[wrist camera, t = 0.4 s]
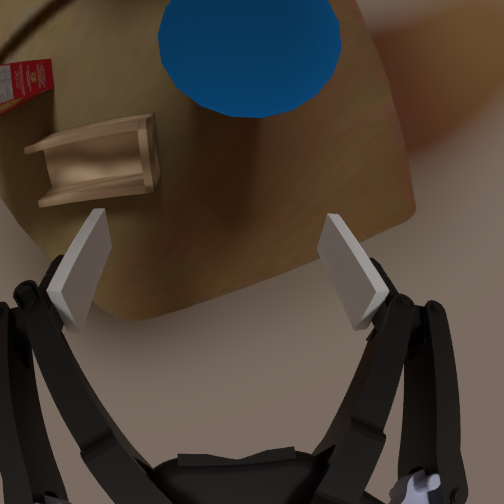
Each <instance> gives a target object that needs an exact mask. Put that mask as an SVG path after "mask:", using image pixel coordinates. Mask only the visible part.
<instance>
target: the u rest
mask: <svg viewBox="0 0 504 504" xmlns="http://www.w3.org/2000/svg"><path fill="white" fill-rule="evenodd" d="M40 150H43V151H44V156H45V160H46V165H47V169H48V173H49V177H50V181H51V185H52V187H51V188H50V189H49V190H48V191H47V192H46V193H45V194H44V195H43V196H42V197H41V198H40V199H39V200H38V204H39V207H40V208H42V207H48V206H53V205H60V204H66V203H72V202H79V201H86V200H94V199H101V198H109V197H118V196H127V195H136V194H146V193H154V192H155V189H156V187H157V184H158V182H159V180H160V177H161V174H160V166H159V156H158V147H157V136H156V123H155V113H150V114H143V115H136V116H129V117H123V118H118V119H112V120H107V121H102V122H97V123H92V124H88V125H84V126H79V127H75V128H71V129H67V130H64V131H60V132H56V133H53V134H49V135H46V136H43V137H41V138H39V139H37V140H36V141H34V142H32V143H31V144H29V145H27V146H26V147H24V152H25V155H27V154H30V153H34V152H37V151H40Z"/></svg>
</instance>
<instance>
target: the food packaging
mask: <svg viewBox="0 0 504 504" xmlns="http://www.w3.org/2000/svg"><path fill="white" fill-rule="evenodd" d="M53 88H54V81H53V73H52V63H51V59H42V60H32V61H23V62H16V63H9V64H3V65H0V115H2V114H3V113H5V112H7V111H9V110H10V109H12V108H14V107H16V106H18V105H20V104H21V103H23V102H25V101H27V100H29V99H31V98H33V97H35V96H37V95H39V94H42V93H44V92H46V91H48V90H50V89H53Z"/></svg>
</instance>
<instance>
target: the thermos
mask: <svg viewBox="0 0 504 504" xmlns="http://www.w3.org/2000/svg"><path fill="white" fill-rule="evenodd" d="M158 41H159V48H160V55H161V61H162V64H163V66H164V67H165V69H166V71H167V72H168V74H169V76H170V77H171V79H172V80H173V82H174V84H175V85H176V87H177V88H178V89H179V90H181V91H182V92H183V93H185V94H186V95H187V96H188V97H190V98H191V99H192V100H194V101H195V102H196V103H197V104H199V105H200V106H202V107H205V108H207V109H210V110H213V111H216V112H219V113H222V114H225V115H227V116H230V117H251V118H264V117H268V116H272V115H276V114H280V113H284V112H288V111H292V110H293V109H295V108H297V107H298V106H300V105H301V104H303V103H305V102H306V101H308V100H309V99H311V98H313V97H314V96H316V95H317V94H318V92H319V91H320V90H321V89H322V87H323V86H324V85H325V84H326V83H327V81H328V80H329V79H330V78H331V76H332V75H333V73H334V70H335V67H336V64H337V61H338V58H339V55H340V51H341V40H340V28H339V22H338V20H337V18H336V16H335V14H334V12H333V10H332V8H331V6H330V4H329V2H328V0H171V1H170V3H169V4H168V5H167V6H166V8H165V11H164V15H163V18H162V21H161V25H160V28H159V32H158Z"/></svg>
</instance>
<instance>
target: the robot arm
mask: <svg viewBox="0 0 504 504" xmlns="http://www.w3.org/2000/svg"><path fill="white" fill-rule="evenodd" d="M111 249H112V244H111V239H110V234H109V229H108V223H107V218H106V212H105V208H101V209H93V210H92V212H91V213H90V215H89V216H88V218H87V219H86V221H85V222H84V224H83V226H82V227H81V229H80V230H79V232H78V234H77V235H76V237H75V239H74V240H73V242H72V244H71V245H70V247H69V249H68V250H67V252H66V254H65V255H59V256H58V257H56V258H55V259H54V260H53V261H52V263H51V265H50V267H49V270H47V272H46V275H45V276H44V278H43V280H42V282H41V283H40V285H39V287H38V286H37V284H36V282H35V281H32V280H27V281H24V282H22V283H20V284H19V285H18V286H17V287H16V288H15V290H14V293H13V298H14V299H15V301H16V303H17V305H18V306H19V307H16V308H11V309H10V308H9V306H8V305H7V303H6V302H0V472H1V476H2V479H3V494H4V504H72V503H70V502H69V501H68V498H67V494H66V490H65V487H64V484H63V481H62V478H61V475H60V472H59V470H58V467H57V464H56V461H55V458H54V456H53V452H52V449H51V446H50V442H49V439H48V436H47V432H46V428H45V424H44V420H43V416H42V412H41V407H40V402H39V397H38V391H37V385H36V379H35V371H34V363H33V354H32V349H33V351H34V355H35V357H36V360H37V363H38V365H39V367H40V370H41V373H42V375H43V377H44V380H45V382H46V384H47V387H48V389H49V391H50V393H51V396H52V398H53V400H54V402H55V404H56V406H57V408H58V410H59V412H60V414H61V416H62V418H63V420H64V421H65V423H66V425H67V427H68V429H69V430H70V432H71V434H72V436H73V437H74V439H75V441H76V442H77V444H78V446H79V448H80V450H81V452H80V455H81V457H82V459H83V461H84V463H85V464H86V466H87V467H88V469H89V470H90V472H91V473H92V474H93V476H94V477H95V479H96V480H97V481H98V483H99V484H100V485H101V487H102V488H103V489H104V490H105V492H106V493H107V494H108V496H109V497H110V498H111V499H112V500H113V502H114V503H115V504H385V503H383V502H381V501H380V500H378V499H377V498H375V497H373V496H372V495H371V494H369V493H367V492H366V491H364V490H365V488H366V486H367V484H368V481H369V479H370V477H371V475H372V473H373V471H374V468H375V466H376V464H377V461H378V459H379V457H380V454H381V452H382V449H383V447H384V444H385V441H386V435H385V434H384V433H383V430H384V427H385V424H386V421H387V419H388V416H389V413H390V410H391V406H392V404H393V400H394V397H395V394H396V390H397V387H398V384H399V380H400V376H401V373H402V368H403V365H404V402H403V421H402V432H401V443H400V451H399V459H398V481H397V482H396V484H395V485H394V487H393V488H392V489H391V490H390V493H389V496H390V498H391V501H390V503H389V504H465V502H466V500H467V497H468V486H467V480H466V475H465V470H464V465H463V460H462V456H461V452H460V439H461V438H460V436H461V435H460V434H461V433H460V432H461V431H460V404H459V391H458V382H457V373H456V365H455V358H454V351H453V346H452V340H451V335H450V329H449V325H448V320H447V316H446V312H445V309H444V308H443V307H442V305H441V304H439V303H438V302H436V301H433V300H430V301H428V302H427V303H426V305H425V306H424V307H423V306H418V305H414V303H413V301H412V300H411V299H410V298H409V297H407V296H406V295H403V294H399V293H398V292H397V290H396V288H395V287H394V285H393V283H392V282H391V280H390V279H389V277H387V274H386V273H385V272H384V270H383V268H382V267H381V265H380V264H379V263H378V262H377V261H376V260H375V259H373V258H368V256H367V255H366V254H365V252H364V250H363V249H362V247H361V246H360V244H359V243H358V241H357V240H356V238H355V237H354V236H353V234H352V233H351V231H350V230H349V228H348V227H347V226H346V224H345V223H344V221H343V220H342V219H341V217H340V216H339V215H338V214H327V217H326V220H325V224H324V227H323V231H322V234H321V237H320V241H319V244H318V247H317V252H318V254H319V256H320V258H321V260H322V262H323V264H324V266H325V268H326V270H327V272H328V274H329V276H330V278H331V280H332V283H333V285H334V287H335V289H336V291H337V293H338V295H339V298H340V300H341V302H342V304H343V306H344V309H345V311H346V313H347V315H348V317H349V319H350V322H351V324H352V327H353V329H354V331H356V330H363V329H367V328H368V326H369V325H370V323H371V321H372V323H373V325H374V329H373V330H372V332H371V333H370V335H369V336H368V338H367V339H366V340H367V341H368V343H367V345H366V348H365V350H364V353H363V356H362V358H361V361H360V363H359V365H358V368H357V370H356V373H355V375H354V377H353V379H352V382H351V384H350V386H349V389H348V391H347V393H346V395H345V397H344V399H343V402H342V403H341V405H340V408H339V410H338V412H337V414H336V416H335V418H334V420H333V421H332V424H331V425H330V427H329V429H328V431H327V433H326V435H325V437H324V438H323V440H322V441H321V442H320V443H319V445H318V446H317V447H316V449H315V450H314V452H313V453H312V455H311V454H308V453H305V452H300V451H295V449H294V446H293V447H287V448H280V449H272V450H266V451H263V452H260V453H257V454H254V455H252V456H249V457H245V458H242V459H238V460H236V459H229V458H224V457H218V456H213V455H208V454H178V458H175V459H171V460H168V461H166V462H163V463H161V464H159V465H158V466H156V467H155V468H154V469H153V468H152V467H151V466H150V464H148V462H147V461H146V460H145V459H144V458H143V457H142V456H141V455H140V454H139V453H138V452H137V450H136V449H135V448H134V447H133V446H132V445H131V443H130V442H129V441H128V440H127V438H126V437H125V436H124V434H123V433H122V432H121V430H120V429H119V428H118V426H117V425H116V423H115V422H114V421H113V419H112V418H111V416H110V415H109V413H108V412H107V411H106V409H105V408H104V406H103V405H102V403H101V402H100V400H99V398H98V397H97V395H96V394H95V392H94V390H93V389H92V387H91V385H90V384H89V382H88V380H87V379H86V377H85V375H84V373H83V372H82V370H81V368H80V366H79V364H78V362H77V361H76V359H75V357H74V355H73V353H72V351H71V349H70V347H69V345H68V343H67V341H66V339H65V337H64V335H63V333H62V328H63V325H64V326H65V327H66V329H67V331H68V332H74V333H82V329H83V326H84V323H85V320H86V317H87V313H88V310H89V307H90V304H91V301H92V298H93V296H94V293H95V290H96V287H97V284H98V282H99V279H100V276H101V274H102V271H103V269H104V266H105V264H106V261H107V259H108V256H109V254H110V251H111Z"/></svg>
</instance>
